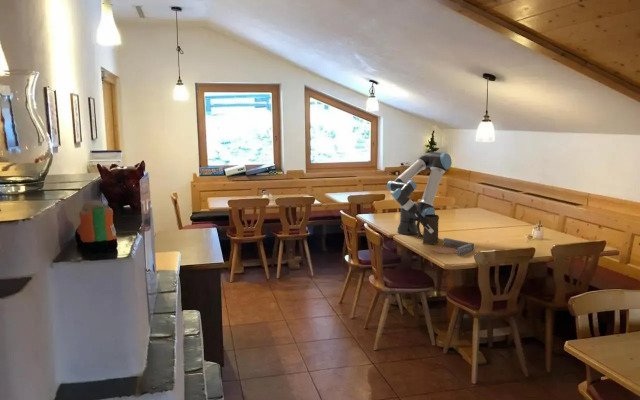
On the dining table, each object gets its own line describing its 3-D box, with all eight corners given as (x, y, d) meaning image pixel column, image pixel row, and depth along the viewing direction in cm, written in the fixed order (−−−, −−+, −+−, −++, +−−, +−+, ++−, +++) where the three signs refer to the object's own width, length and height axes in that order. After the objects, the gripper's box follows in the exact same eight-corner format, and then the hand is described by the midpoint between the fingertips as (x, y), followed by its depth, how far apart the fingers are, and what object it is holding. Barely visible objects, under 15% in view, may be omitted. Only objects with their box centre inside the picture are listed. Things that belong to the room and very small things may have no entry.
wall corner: (445, 244, 349) (445, 237, 348) (473, 250, 334) (473, 243, 333) (431, 249, 336) (431, 242, 335) (459, 256, 321) (460, 248, 321)
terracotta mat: (441, 246, 345) (441, 245, 345) (462, 250, 334) (462, 250, 334) (428, 250, 334) (428, 249, 333) (450, 255, 323) (450, 254, 323)
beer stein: (437, 241, 359) (436, 213, 356) (441, 244, 348) (440, 216, 345) (415, 242, 359) (415, 214, 356) (418, 246, 348) (418, 217, 345)
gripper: (406, 207, 364) (427, 230, 364) (405, 213, 342) (428, 237, 342) (414, 200, 362) (435, 223, 362) (414, 206, 340) (436, 230, 340)
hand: (432, 230), depth 352 cm, fingers closed on beer stein, 9 cm apart
